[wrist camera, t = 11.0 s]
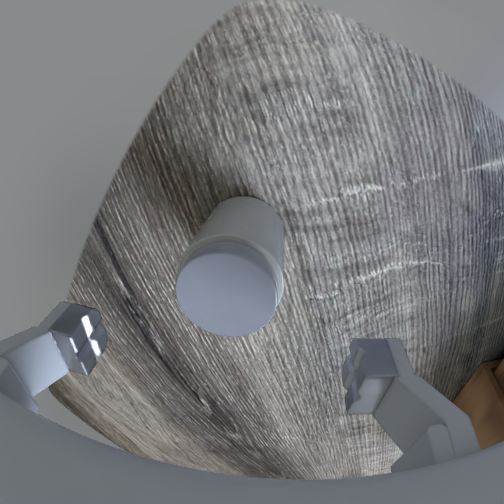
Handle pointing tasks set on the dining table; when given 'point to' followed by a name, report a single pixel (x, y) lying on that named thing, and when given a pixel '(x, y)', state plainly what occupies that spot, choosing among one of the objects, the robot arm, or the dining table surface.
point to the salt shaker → (233, 269)
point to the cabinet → (484, 404)
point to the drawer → (500, 376)
